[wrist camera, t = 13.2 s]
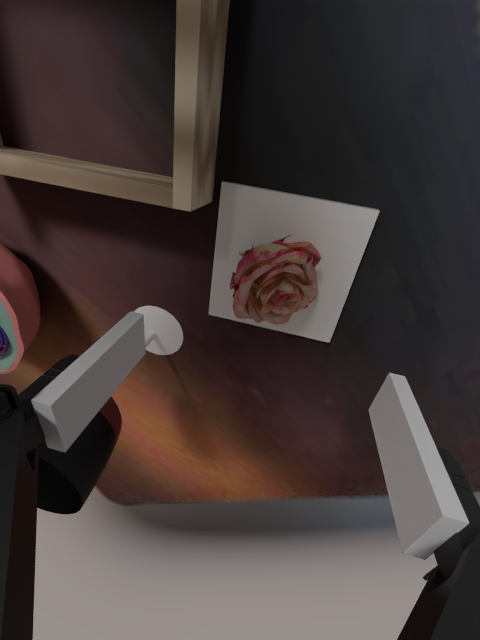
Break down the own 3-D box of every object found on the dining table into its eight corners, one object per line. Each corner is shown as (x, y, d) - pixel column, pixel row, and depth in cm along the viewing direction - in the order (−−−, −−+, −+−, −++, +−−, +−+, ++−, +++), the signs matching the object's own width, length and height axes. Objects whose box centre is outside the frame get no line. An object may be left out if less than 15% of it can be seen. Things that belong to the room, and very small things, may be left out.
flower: (206, 280, 29) (225, 338, 25) (230, 200, 23) (262, 258, 19) (281, 283, 33) (309, 333, 28) (318, 216, 27) (360, 266, 23)
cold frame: (-106, -218, 19) (-391, -478, 11) (247, -205, 16) (193, -528, 9) (-5, 160, 30) (-112, 160, 22) (212, 201, 28) (175, 218, 20)
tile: (224, 181, 26) (221, 181, 26) (377, 209, 25) (379, 210, 24) (210, 310, 34) (208, 314, 33) (328, 338, 32) (329, 342, 31)
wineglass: (147, 289, 34) (-13, 420, 17) (199, 338, 36) (102, 499, 19) (114, 324, 38) (-43, 460, 21) (163, 367, 40) (55, 522, 23)
